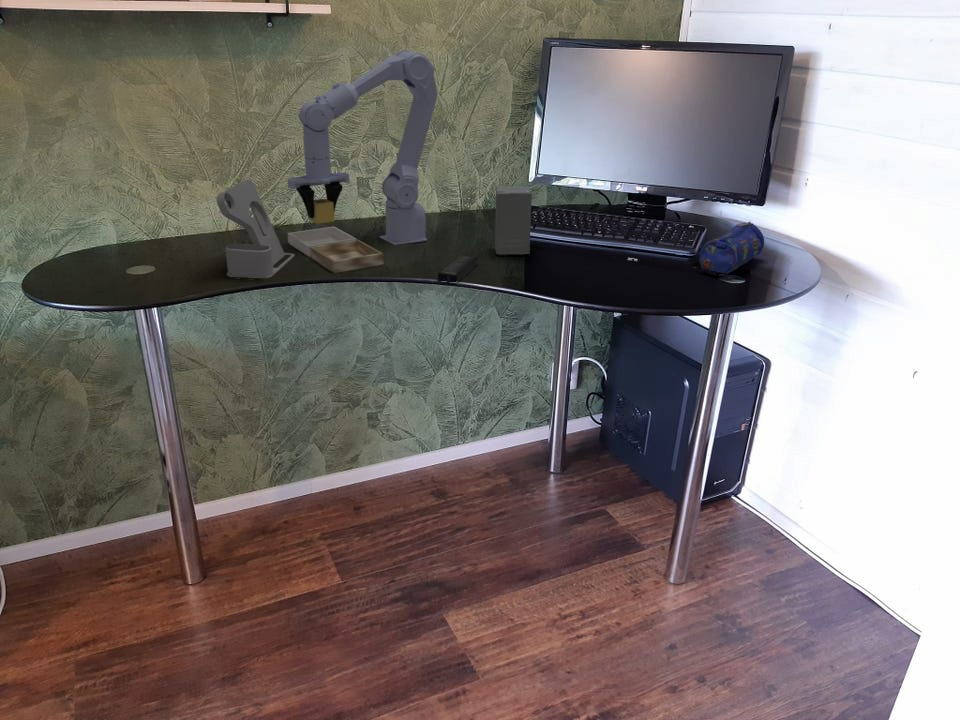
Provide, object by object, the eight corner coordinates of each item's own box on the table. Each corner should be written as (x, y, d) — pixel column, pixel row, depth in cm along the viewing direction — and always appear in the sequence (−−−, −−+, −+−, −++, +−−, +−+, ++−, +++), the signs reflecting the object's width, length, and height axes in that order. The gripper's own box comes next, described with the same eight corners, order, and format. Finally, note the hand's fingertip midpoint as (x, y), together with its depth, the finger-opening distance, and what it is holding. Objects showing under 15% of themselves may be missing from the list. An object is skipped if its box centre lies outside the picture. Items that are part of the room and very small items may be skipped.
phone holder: (269, 281, 163) (261, 197, 156) (223, 278, 164) (213, 193, 156) (296, 256, 179) (290, 178, 171) (254, 253, 180) (246, 176, 172)
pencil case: (728, 252, 193) (735, 215, 189) (763, 260, 189) (770, 221, 185) (694, 274, 177) (701, 234, 173) (731, 283, 173) (738, 241, 169)
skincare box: (527, 249, 190) (531, 184, 183) (529, 258, 183) (534, 191, 177) (493, 248, 190) (495, 183, 183) (494, 257, 183) (497, 190, 176)
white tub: (334, 238, 193) (334, 226, 192) (357, 251, 184) (356, 238, 183) (288, 245, 186) (287, 233, 185) (309, 258, 177) (308, 246, 176)
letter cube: (326, 217, 185) (325, 198, 183) (334, 221, 182) (333, 202, 180) (308, 219, 183) (307, 200, 181) (316, 223, 179) (315, 204, 177)
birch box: (358, 251, 183) (358, 239, 182) (383, 266, 174) (383, 253, 173) (310, 259, 177) (310, 247, 176) (334, 275, 168) (333, 261, 167)
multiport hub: (478, 266, 178) (478, 256, 177) (456, 285, 166) (456, 275, 165) (460, 263, 179) (460, 254, 178) (437, 283, 167) (437, 272, 166)
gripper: (294, 163, 169) (299, 223, 175) (354, 157, 177) (356, 215, 183) (282, 157, 174) (286, 216, 180) (340, 152, 182) (343, 208, 188)
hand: (321, 215), depth 182 cm, fingers closed on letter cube, 4 cm apart
